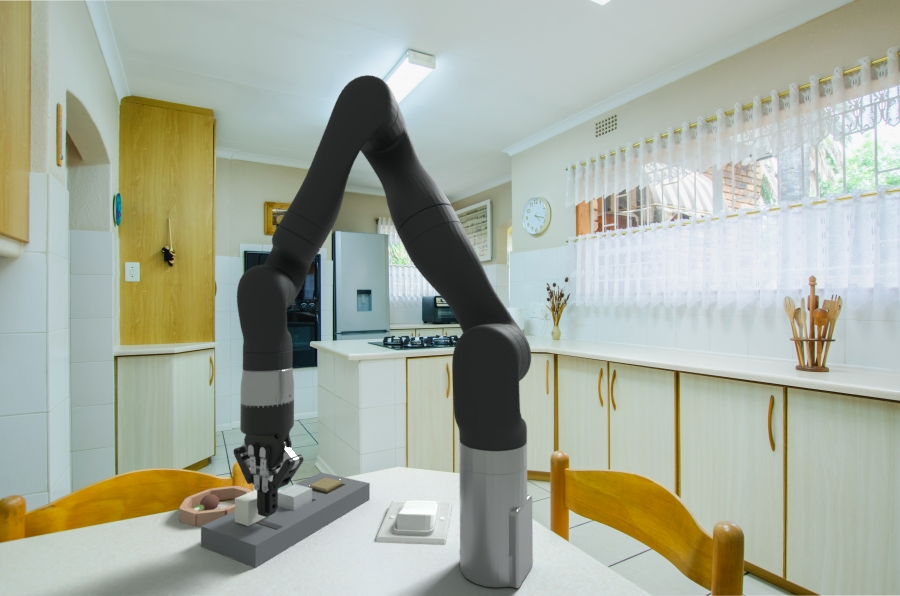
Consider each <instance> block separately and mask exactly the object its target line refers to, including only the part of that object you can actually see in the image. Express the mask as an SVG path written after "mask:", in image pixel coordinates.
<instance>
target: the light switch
mask: <svg viewBox="0 0 900 596" xmlns="http://www.w3.org/2000/svg"><path fill="white" fill-rule="evenodd" d="M452 510H453V504H452V503H451V502H438V501H435V500H422V499H421V500H419V499H417V500H405V501H391V502H390V504H389V506H388V509H387V512H386V514H385V516H384V518H383V521H382V524H381V526H380V528H379V531H378V533H377V535H376V538H375V543H379V544H380V543H382V544H383V543H384V544H390V543H391V544H406V545H407V544H409V545H411V544H413V545H434V546H437V545H439V546H444V545H446V544H447V542H448V541H447V539H448V536H449V535H448V533H449V528H450V523H451V516H452V512H453V511H452Z"/></svg>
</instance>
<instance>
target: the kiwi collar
mask: <svg viewBox="0 0 900 596" xmlns="http://www.w3.org/2000/svg"><path fill="white" fill-rule="evenodd" d="M252 491H253V490H252V489H251V488H250V489H249V488H246V487H243V486H238V485H232V486H231V485H230V486H222V487H221V486H220V487H213V488H208V489H205V490H203V491H200V492H197V493H195V494H194V493H193V494H192V495H190V496H187V497H185V498H184V499H183V501H182V503H181V504H180V506H179V507H178V521H179V522H182V523H184V524H188V525H190V526H192V527H201V526H203V525H205V524H207V523H209V522H212V521H214V520H216V519H218V518H220V517H223V516H225V515H227V514H229V513H232V512H234V511H235V503H234V504H231V505H229V506H227V507H224V508H223V507H222V508H215V509H214V510H206V511H198V510H195V509H192V507H194V506H196V505H200V502H201V500H202V498H203V497H205V496H206V495H210V494H213V495H216V496H217V497H218V498H219V501H224V500H225V501H226V500H235V498H237V497H240V496H242V495H244V494H247V493H249V492H252Z"/></svg>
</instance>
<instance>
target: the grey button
mask: <svg viewBox="0 0 900 596" xmlns="http://www.w3.org/2000/svg"><path fill="white" fill-rule="evenodd" d="M277 501H278V507H280V508H284V509H287V510H291V511H295V510H297V509H299V508H301V507H303V506H305V505H307V504H309V503H311V502H312V488H309V487H305V486H301V485H297V484H296V483H295V484H292V485H290V486H288V487H286V488H283V489H281V490H278V500H277Z"/></svg>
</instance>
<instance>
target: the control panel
mask: <svg viewBox="0 0 900 596" xmlns="http://www.w3.org/2000/svg"><path fill="white" fill-rule="evenodd" d="M324 478H330V479H334V480H339V479H341V480H339V481H342V487H340V488H338V489H336V490H334V491H332V492H330V493H328V494H323V493H319V492H315V491H312V502H311V503H309V504H307V505H305V506H303V507H301V508H299V509H297V510H295V511H291V510H287V509H284V508H280V507H277V510H276V512H275V513H274V514H272V515H270V516H268V517H266V518H264V519H262V520H260V521H258V522H256V523H254V524H251V525H249V526H246V525H243V524H240V523H237V522H235V511H234V512H232V513H229V514H227V515H225V516H223V517H220V518H218V519H216V520H214V521H212V522H209V523H207V524H205V525H203V526H200V547H202V548H205V549H206V550H209V551H212V552H214V553H217V554H219V555H221V556H225V557H227V558H230V559H232V560H235V561H237V562H239V563H242V564H246V565H248V566H250V567H252V568H257V567H259V566H261V565H263V564H264V563H266V562H268V561H269V560H271V559H273V558H274V557H276V556H278V555H280V554H282V552H284V551H286V550H287V549H289V548H291V547H293V546H295V545H297V543H299V542H301V541H302V540H304V539H306V538H308V537H310V536H311V535H313V534H315V533H316V532H318V531H319V530H321V529H323V528H324V527H326V526H329V524H331V523H333V522H334V521H336V520H338V519H339V518H341V517H343V516H344V515H346V514H348V513H349V512H351V511H353V510H354V509H356V508H358V507H360V506H361V505H363V504H364V503H366V502H369V500H370V499H371V498H370V494H371V493H370V489H371V488H370V487H371V486H370V482H365V481H361V480H357V479H354V478H353V479H352V478H348V477H345V476H344V477H343V476H338V475H335V474H331V473H325V472H319V473H317V474H315V475H312V476H310V477H308V478H306V479H303V480H301V481H299V482H296V483H295V484H297V485H301V486H305V487H309V488H310V486H309V485H311V484H313V483H315V482H317V481H319V480H321V479H324Z"/></svg>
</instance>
